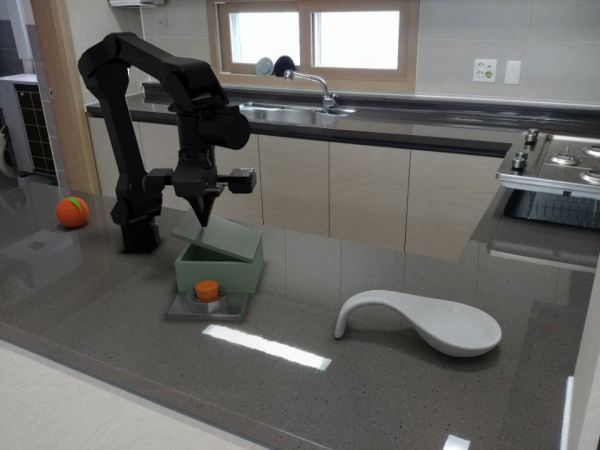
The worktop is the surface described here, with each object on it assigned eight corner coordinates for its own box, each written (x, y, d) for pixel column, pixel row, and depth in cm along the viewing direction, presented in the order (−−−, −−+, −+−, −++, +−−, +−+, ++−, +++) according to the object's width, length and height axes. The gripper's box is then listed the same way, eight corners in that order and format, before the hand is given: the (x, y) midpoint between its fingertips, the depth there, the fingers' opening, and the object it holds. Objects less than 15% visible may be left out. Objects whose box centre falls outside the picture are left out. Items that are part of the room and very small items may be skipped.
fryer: (178, 292, 95) (174, 262, 92) (195, 262, 105) (192, 235, 103) (254, 293, 93) (252, 264, 91) (263, 263, 104) (262, 236, 102)
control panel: (167, 319, 87) (165, 303, 85) (179, 297, 93) (177, 281, 92) (240, 321, 86) (239, 305, 84) (248, 298, 92) (247, 283, 91)
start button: (194, 300, 87) (192, 290, 86) (199, 289, 90) (198, 280, 89) (215, 300, 86) (214, 291, 86) (220, 289, 90) (219, 280, 89)
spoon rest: (494, 326, 83) (499, 286, 80) (504, 375, 72) (511, 330, 69) (341, 312, 87) (341, 273, 84) (330, 356, 77) (330, 313, 74)
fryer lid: (170, 236, 90) (171, 232, 90) (189, 210, 101) (190, 207, 101) (251, 263, 91) (252, 259, 91) (261, 235, 102) (262, 232, 101)
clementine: (99, 226, 123) (94, 196, 120) (70, 235, 118) (64, 205, 115) (81, 217, 128) (76, 189, 125) (53, 227, 123) (46, 198, 120)
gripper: (123, 153, 83) (137, 244, 89) (243, 153, 81) (249, 246, 87) (148, 136, 93) (159, 219, 99) (254, 136, 91) (259, 220, 98)
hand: (204, 226), depth 96 cm, fingers closed
